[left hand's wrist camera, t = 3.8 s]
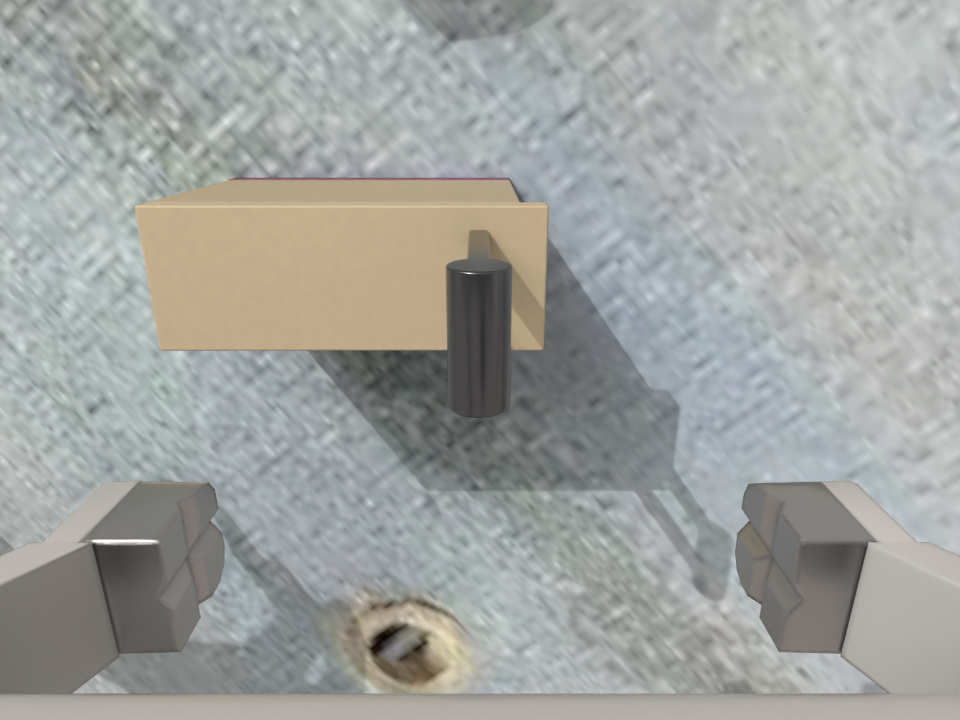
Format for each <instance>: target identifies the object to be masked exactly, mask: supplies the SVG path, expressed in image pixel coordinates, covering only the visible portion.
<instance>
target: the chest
mask: <svg viewBox="0 0 960 720" xmlns="http://www.w3.org/2000/svg"><path fill="white" fill-rule="evenodd" d="M150 202H519V199H518V197H517V195H516V193H515V191H514V189H513V187H512V184H511V182H510V179H509V178H234V179H230V180H228V181H224V182H221V183H217V184H213V185H210V186H206V187H202V188H198V189H195V190H191V191H187V192H184V193H180V194H176V195H172V196H169V197H165V198H161V199H158V200H154V201H150Z"/></svg>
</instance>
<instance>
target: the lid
mask: <svg viewBox="0 0 960 720" xmlns="http://www.w3.org/2000/svg"><path fill="white" fill-rule="evenodd" d="M135 210H136V216H137V221H138V227H139V232H140V238H141V244H142V249H143V255H144V260H145V266H146V272H147V277H148V283H149V288H150V294H151V300H152V305H153V311H154V316H155V322H156V328H157V333H158V339H159V344H160V349H161V350H163V351H217V350H447V373H448V406H449V408H450V409H451V410H452V411H453V412H455V413H457V414H459V415H462V416H467V417H475V418H483V417H491V416H496V415H499V414H501V413H503V412H505V411H506V410H507V409H508V408H509V406H510V371H511V350H543V349H544V330H545V302H546V275H547V247H548V220H549V207H548V205H547V204H546V203H545V202H147V203H144V204H140V205H137V206H135Z"/></svg>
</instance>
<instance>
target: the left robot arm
mask: <svg viewBox="0 0 960 720" xmlns="http://www.w3.org/2000/svg"><path fill="white" fill-rule="evenodd" d="M217 510H218V503H217V498H216V493H215V489H214V488H213V487H212V486H211V485H210V484H209V483H200V482H148V481H146V482H142V481H113V482H107V483H103V484H102V485H101V486H100V487H99V488H98V489H97V490H96V491H95V492H94V493H93V494H92V495H91V496H90V497H89V498H88V499H87V500H86V501H85V502H84V503H83V504H82V505H81V506H80V507H79V508H78V509H77V510H76V511H74V512H73V513H72V514H71V515H70V516H69V517H68V518H67V519H66V520H65V521H64V522H63V523H62V524H61V525H60V526H59V527H58V528H57V529H56V530H55V531H54V532H53V533H52V534H51V535H50V536H49V537H48V538H47V539H45V540H44V541H43V542H31V543H29V544H27V545H24V546H22V547H20V548H17V549H15V550H13V551H10V552H8V553H6V554H4V555H1V556H0V720H960V556H959V555H956V554H954V553H952V552H949V551H947V550H945V549H943V548H940V547H938V546H936V545H933V544H931V543H929V542H917V541H916V540H915V539H914V538H912V537H911V536H910V535H909V534H908V533H907V532H906V531H905V530H904V529H903V528H902V527H901V526H900V525H899V524H898V523H897V522H896V521H895V520H894V519H893V518H892V517H891V516H890V515H889V514H888V513H887V512H886V511H885V510H884V509H883V508H882V507H880V506H879V505H878V504H877V503H876V502H875V501H874V500H873V499H872V498H871V497H870V496H869V495H868V494H867V493H866V492H865V491H864V490H863V489H862V488H861V487H860V486H859V485H858V484H856V483H853V482H851V481H827V482H788V483H754V484H748V486H747V488H746V491H745V493H744V497H743V503H742V510H743V511H744V513H745V514H746V516H747V517H748V519H749V520H750V521H749V522H748V523H747V524H746V525H745V526H744V527H743V528H742V529H741V530H740V531H739V532H738V533H737V541H736V550H735V556H736V566H737V572H738V575H739V579H740V582H741V584H742V586H743V588H744V590H745V592H746V594H747V596H749V597H750V598H752V599H753V600H755V601H756V602H758V603H759V604H761V605H762V606H761V612H760V619H761V621H762V623H763V624H764V626H765V628H766V630H767V632H768V633H769V635H770V637H771V639H772V640H773V642H774V644H775V646H776V647H777V649H778V651H779V652H800V653H837V654H841V657H842V658H843V659H845V660H846V661H847V662H849V663H850V664H851V665H852V666H854V667H855V668H856V669H858V670H859V671H860V672H861V673H863V674H864V675H865V676H867V677H868V678H869V679H870V680H872V681H873V682H874V683H876V684H877V685H878V686H879V687H881V688H882V689H883V690H885V691H886V692H887V693H889V694H72V693H73V692H74V691H76V690H77V689H78V688H79V687H81V686H82V685H83V684H85V683H86V682H87V681H88V680H90V679H91V678H92V677H94V676H95V675H96V674H98V673H99V672H100V671H101V670H103V669H104V668H105V667H107V666H108V665H109V664H110V663H112V662H113V661H114V660H116V659H117V658H118V657H119V654H123V653H158V652H181V651H182V649H183V648H184V646H185V644H186V642H187V640H188V639H189V637H190V635H191V633H192V632H193V630H194V628H195V626H196V624H197V623H198V621H199V619H200V612H199V606H198V605H199V604H201V603H202V602H204V601H205V600H207V599H208V598H210V597H211V596H213V594H214V592H215V590H216V588H217V586H218V584H219V582H220V579H221V575H222V570H223V566H224V549H225V547H224V540H223V533H222V532H221V531H220V530H219V529H218V528H217V527H216V526H215V525H214V524H213V523H212V522H211V521H210V520H211V519H212V517H213V516H214V514H215V513H216V511H217Z"/></svg>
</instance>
